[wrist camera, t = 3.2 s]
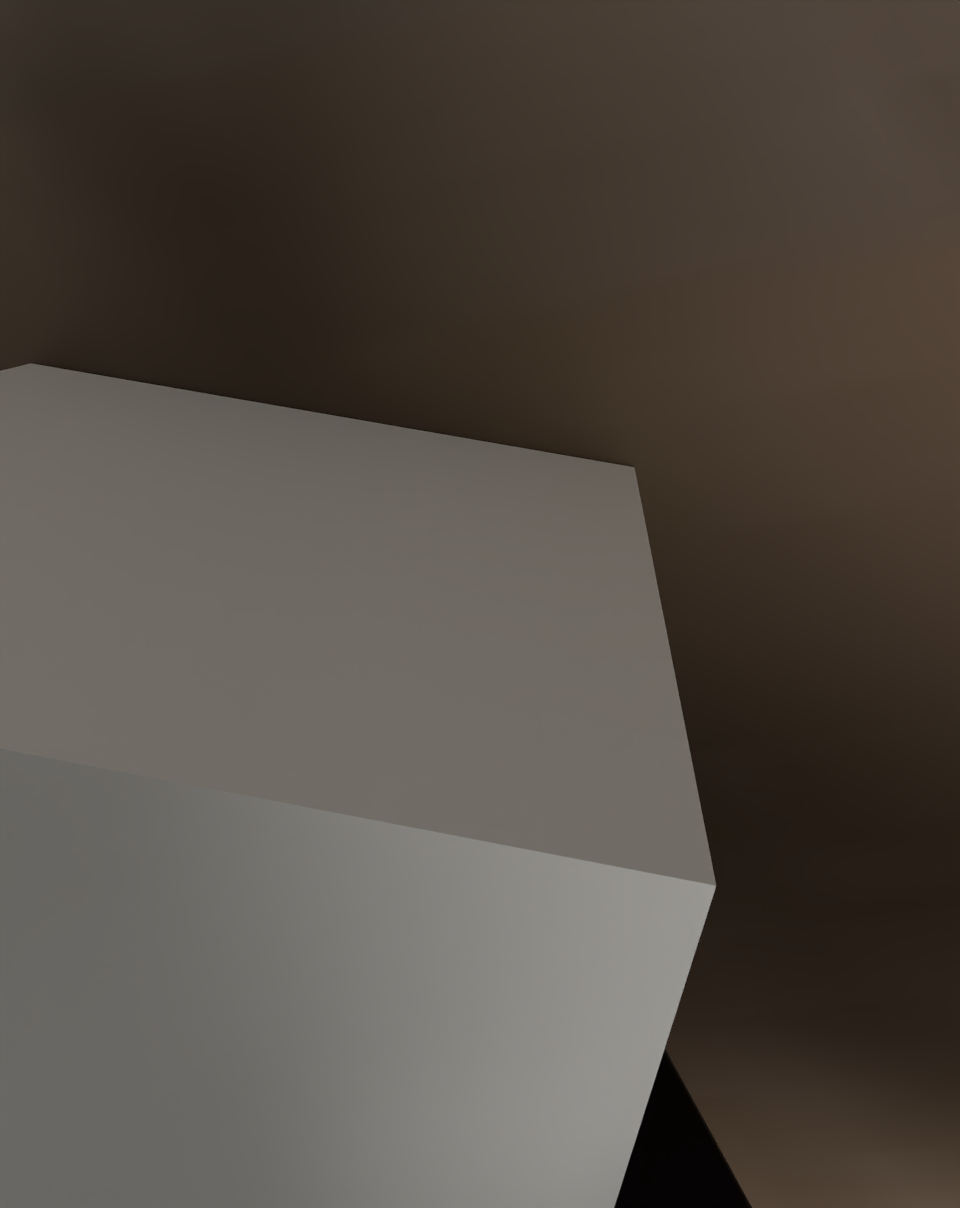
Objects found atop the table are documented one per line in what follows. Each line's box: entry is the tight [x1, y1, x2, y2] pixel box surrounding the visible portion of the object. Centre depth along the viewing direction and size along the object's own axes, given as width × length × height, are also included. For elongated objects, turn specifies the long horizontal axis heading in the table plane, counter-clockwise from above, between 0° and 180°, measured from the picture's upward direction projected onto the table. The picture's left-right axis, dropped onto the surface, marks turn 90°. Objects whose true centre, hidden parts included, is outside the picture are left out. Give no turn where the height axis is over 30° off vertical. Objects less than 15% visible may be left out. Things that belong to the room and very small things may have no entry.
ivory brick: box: [0, 363, 716, 1208], centre depth 7 cm, size 5×8×5 cm, turn 171°
